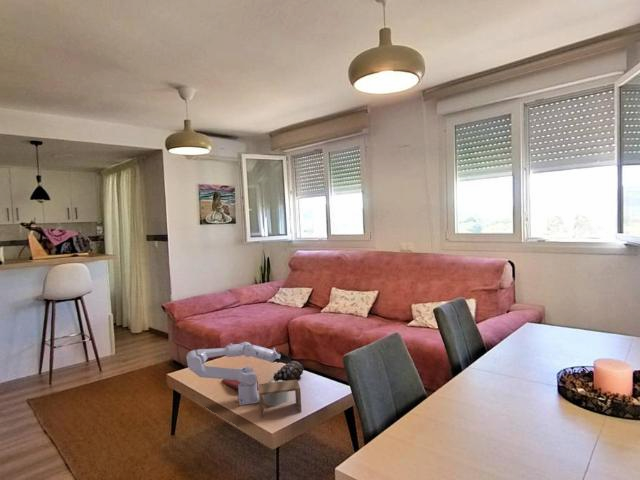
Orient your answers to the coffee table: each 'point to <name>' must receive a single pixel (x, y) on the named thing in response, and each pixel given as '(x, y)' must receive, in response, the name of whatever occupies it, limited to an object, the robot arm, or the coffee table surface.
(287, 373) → the pine cone
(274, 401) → the lumpy-topped squat cylinder
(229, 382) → the carton
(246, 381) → the robot arm
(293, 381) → the walnut shelf
